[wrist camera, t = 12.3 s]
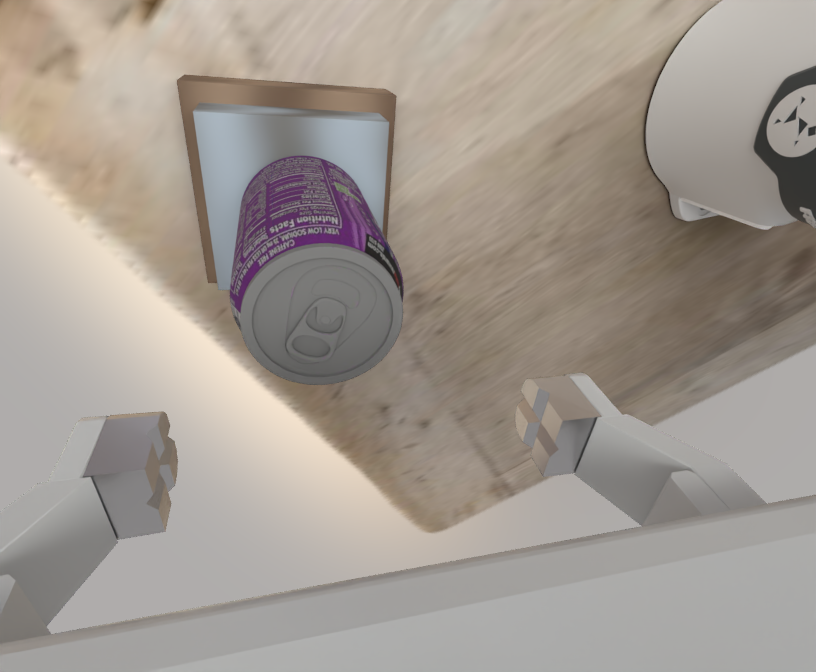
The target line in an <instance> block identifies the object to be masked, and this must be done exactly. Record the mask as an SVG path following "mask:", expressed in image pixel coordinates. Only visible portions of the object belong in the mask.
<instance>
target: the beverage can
mask: <svg viewBox="0 0 816 672" xmlns="http://www.w3.org/2000/svg"><path fill="white" fill-rule="evenodd" d="M230 302H231V308H232V312H233V316H234V318H235V321H236V323H237V325H238V327H239V329H240V330H241V332H242V336H243V339H244V341H245V344H246V346H247V348H248V349H249V351H250V352H251V354H252V355H253V357H254V358H255V359H256V360H257V361H258V362H259V363H260V364H261V365H262V366H263V367H265V368H266V369H267V370H269V371H270V372H272V373H274V374H275V375H277V376H279V377H281V378H284V379H286V380H290V381H293V382H297V383H302V384H310V385H325V384H333V383H339V382H342V381H346V380H349V379H352V378H354V377H357V376H359V375H361V374H363V373H365V372H366V371H368V370H369V369H371V368H372V367H374V366H375V365H376V364H377V363H379V362H380V361H381V360H382V359H383V358H384V357H385V356H386V355H387V353H388V352H389V351H390V349H391V348H392V347H393V345H394V343H395V341H396V339H397V337H398V335H399V332H400V329H401V325H402V319H403V305H402V302H403V279H402V274H401V270H400V267H399V264H398V262H397V260H396V258H395V256H394V254H393V252H392V250H391V248H390V246H389V244H388V242H387V240H386V239H385V237H384V235H383V233H382V231H381V229H380V227H379V225H378V223H377V221H376V220H375V218H374V216H373V214H372V212H371V210H370V208H369V206H368V204H367V202H366V200H365V199H364V197H363V195H362V193H361V191H360V189H359V187H358V186H357V184H356V183H355V182H354V180H353V179H352V178H351V177H350V176H349V175H348V174H347V173H346V172H345V171H344V170H342V169H341V168H340V167H338V166H337V165H335V164H333V163H331V162H329V161H327V160H324V159H321V158H317V157H313V156H291V157H286V158H282V159H279V160H277V161H274V162H272V163H270V164H269V165H267V166H266V167H264V168H263V169H261V170H260V171H259V172H258V173H257V174H256V175H255V176H254V177H253V179H252V180H251V181H250V183H249V184H248V186H247V188H246V190H245V192H244V195H243V197H242V201H241V207H240V214H239V222H238V229H237V237H236V244H235V252H234V259H233V267H232V274H231V284H230Z"/></svg>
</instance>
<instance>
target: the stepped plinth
mask: <svg viewBox="0 0 816 672" xmlns="http://www.w3.org/2000/svg"><path fill="white" fill-rule="evenodd" d="M177 85H178V92H179V98H180V105H181V111H182V118H183V124H184V130H185V137H186V143H187V150H188V156H189V163H190V169H191V176H192V182H193V189H194V195H195V201H196V208H197V214H198V221H199V227H200V234H201V240H202V247H203V253H204V260H205V266H206V272H207V279H208V283H218V290H230V284H231V274H232V267H233V259H234V252H235V244H236V237H237V229H238V222H239V214H240V207H241V201H242V197H243V195H244V192H245V190H246V188H247V186H248V184H249V183H250V181H251V180H252V179H253V177H254V176H255V175H256V174H257V173H258V172H259V171H260V170H261V169H263V168H264V167H266V166H267V165H269V164H270V163H272V162H274V161H277V160H279V159H282V158H286V157H291V156H313V157H317V158H321V159H324V160H327V161H329V162H331V163H333V164H335V165H337V166H338V167H340V168H341V169H342V170H344V171H345V172H346V173H347V174H348V175H349V176H350V177H351V178H352V179H353V180H354V182H355V183H356V184H357V186H358V187H359V189H360V191H361V193H362V195H363V197H364V199H365V200H366V202H367V204H368V206H369V208H370V210H371V212H372V214H373V216H374V218H375V220H376V221H377V223H378V225H379V227H380V229H381V231H382V233H383V235H384V237H385V239H386V240H387V226H388V211H389V196H390V182H391V167H392V152H393V137H394V123H395V108H396V95H394V94H393V93H391V92H390V91H388V90H386V89H374V88H361V87H347V86H333V85H319V84H305V83H292V82H278V81H264V80H250V79H236V78H223V77H209V76H195V75H184V76H182V77H181V78H179V79H178V80H177Z"/></svg>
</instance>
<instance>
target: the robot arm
mask: <svg viewBox="0 0 816 672" xmlns="http://www.w3.org/2000/svg"><path fill="white" fill-rule="evenodd" d="M646 147H647V153H648V158H649V161H650V164H651V166H652V168H653V170H654V172H655V174H656V175H657V177H658V178H659V179H660V180H661V181H662V183H663V184H664V185H665V186H666V188H667V189H668V191H669V194H670V202H671V207H672V211H673V214H674V216H675V217H676V218H678V219H681V220H684V221H694V220H698V219H703V218H708V217H713V216H717V215H722V216H725V217H728V218H730V219H733V220H736V221H739V222H741V223H744V224H747V225H750V226H753V227H756V228H759V229H765V230H768V229H770V228H771V227H773V226H781V225H786V224H789V223H792V222H795V221H798V220H799V221H802V222H804V223H807V224H810V225H811V226H812V227H814V228H816V0H722V1H721V2H719V3H718V4H717V5H715V6H714V7H713V8H711V9H710V10H709V11H708V12H707V13H706V14H705V15H703V16H702V17H701V18H700V19H699V20H698V21H697V22H696V23H695V24H694V25H693V27H692V28H691V29H690V30H689V31H688V32H687V34H686V35H685V36H684V37H683V39H682V40H681V41H680V43H679V44H678V46H677V47H676V48H675V50H674V52H673V53H672V55H671V56H670V58H669V60H668V61H667V63H666V65H665V67H664V69H663V71H662V73H661V75H660V77H659V80H658V82H657V85H656V87H655V90H654V93H653V96H652V99H651V103H650V107H649V111H648V116H647V124H646ZM521 392H522V394H523V396H524V397H525V398H524V399H523V400H522V401H521V402H520V403H519V404H518V405H517V408H516V413H515V424H516V429H517V432H518V435H519V436H520V438H521V440H522V442H523V443H525V444H527V445H528V446H530V447H531V448H532V452H531V457H532V459H533V461H534V462H535V464H536V466H537V467H538V469H539V471H540V473H541V474H542V476H543V477H545V476H554V475H563V474H571V473H575V475H576V476H577V477H579V478H580V479H581V480H582V481H584V482H585V483H586V484H588V485H589V486H590V487H591V488H593V489H594V490H596V491H597V492H598V493H599V494H601V495H602V496H604V497H605V498H606V499H607V500H609V501H610V502H611V503H613V504H614V505H615V506H616V507H618V508H619V509H620V510H622V511H623V512H624V513H626V514H627V515H628V516H630V517H631V518H632V519H634V520H635V521H636V522H638V523H639V524H640V525H641V527H636V528H631V529H625V530H620V531H614V532H609V533H603V534H598V535H592V536H587V537H581V538H576V539H570V540H565V541H560V542H554V543H548V544H543V545H537V546H532V547H527V548H521V549H516V550H510V551H505V552H500V553H495V554H489V555H484V556H478V557H472V558H467V559H461V560H456V561H450V562H445V563H440V564H434V565H428V566H423V567H417V568H412V569H406V570H401V571H395V572H390V573H384V574H379V575H373V576H368V577H362V578H357V579H351V580H346V581H340V582H335V583H330V584H324V585H318V586H313V587H307V588H302V589H297V590H291V591H285V592H280V593H274V594H269V595H263V596H258V597H252V598H247V599H241V600H236V601H230V602H225V603H220V604H214V605H209V606H203V607H198V608H192V609H187V610H182V611H176V612H171V613H165V614H160V615H154V616H148V617H143V618H137V619H132V620H126V621H121V622H116V623H110V624H104V625H99V626H93V627H88V628H83V629H77V630H72V631H66V632H61V633H55V634H51V633H50V632H49V630H48V629H47V627H46V626H47V625H48V624H49V623H50V622H51V620H52V619H53V618H54V617H55V616H56V615H57V614H58V612H59V611H60V610H61V609H62V608H63V606H64V605H65V604H66V603H67V602H68V601H69V599H70V598H71V597H72V596H73V595H74V594H75V592H76V591H77V590H78V589H79V588H80V586H81V585H82V584H83V583H84V582H85V580H86V579H87V578H88V577H89V576H90V575H91V573H92V572H93V571H94V570H95V569H96V568H97V566H98V565H99V564H100V563H101V562H102V560H103V559H104V558H105V557H106V556H107V555H108V553H109V552H110V551H111V550H112V549H113V548H114V546H115V545H116V544H117V543H118V541H117V540H119V539H125V538H131V537H137V536H143V535H149V534H154V533H160V532H165V531H166V526H167V521H168V517H169V512H170V507H171V501H170V497H169V494H168V492H169V491H170V490H171V489H172V488H173V487H174V486H175V483H176V477H177V463H178V459H177V450H176V446H175V442H174V441H173V440H172V439H171V438H169V437H168V433H169V428H170V424H169V420H168V417H167V414H166V413H165V412H150V413H136V414H122V415H110V416H100V417H85V418H82V419H80V420H79V421H78V422H77V423H76V424H75V427H74V428H73V430H72V433H71V435H70V437H69V439H68V441H67V443H66V445H65V447H64V449H63V451H62V453H61V455H60V457H59V459H58V462H57V464H56V466H55V468H54V470H53V472H52V474H51V476H50V478H49V480H48V482H42V483H38V484H37V485H35V486H34V487H33V488H31V489H30V490H29V491H27V492H26V493H25V494H23V495H22V496H21V497H19V498H18V499H17V500H15V501H14V502H13V503H11V504H10V505H9V506H8V507H6V508H5V509H3V510H2V511H1V512H0V672H816V495H812V496H806V497H801V498H796V499H790V500H785V501H779V502H773V503H768V504H767V503H766V502H765V501H764V500H762V498H760V496H759V495H758V494H757V493H756V492H755V491H754V490H752V489H751V487H749V485H748V484H747V483H745V482H744V480H742V479H741V478H740V477H739V476H738V475H737V474H736V473H735V472H734V471H733V470H732V469H731V468H730V467H729V466H728V465H727V464H726V463H725V462H723V461H721V460H719V459H717V458H714V457H713V456H711V455H709V454H707V453H705V452H703V451H701V450H699V449H697V448H695V447H693V446H690V445H688V444H687V443H685V442H682V441H680V440H678V439H676V438H674V437H672V436H670V435H668V434H666V433H664V432H662V431H660V430H658V429H656V428H654V427H652V426H650V425H648V424H646V423H644V422H642V421H640V420H638V419H636V418H634V417H632V416H630V415H628V414H626V415H622V414H621V413H620V412H619V411H618V409H617V408H616V407H615V406H614V405H613V404H612V403H611V401H610V400H609V399H608V398H607V397H606V396H605V395H604V394H603V392H602V391H601V390H600V389H599V388H598V387H597V386H596V384H595V383H594V382H593V381H592V380H591V379H590V378H589V376H588V375H586V374H584V373H573V374H565V375H558V376H548V377H538V378H528V379H526V380H525V382H524V383H523V386H522V389H521Z"/></svg>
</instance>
